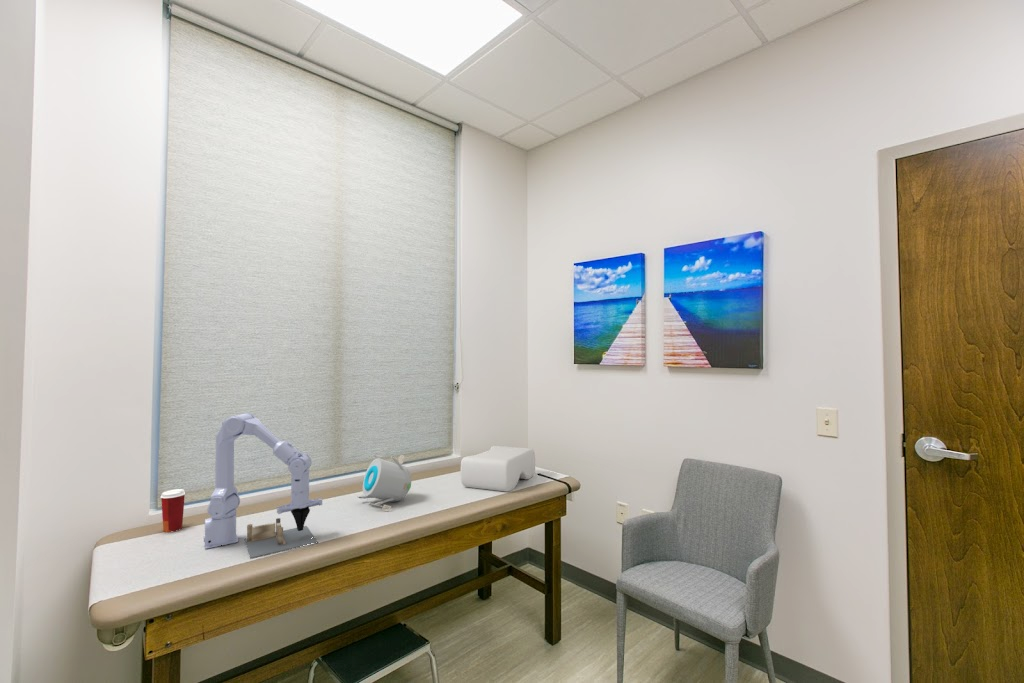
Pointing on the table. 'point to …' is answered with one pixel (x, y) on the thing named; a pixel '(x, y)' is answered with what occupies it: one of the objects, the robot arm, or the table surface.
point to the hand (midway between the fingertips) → (300, 529)
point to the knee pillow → (498, 468)
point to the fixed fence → (260, 531)
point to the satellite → (386, 480)
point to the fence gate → (279, 531)
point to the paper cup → (172, 509)
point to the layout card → (270, 544)
